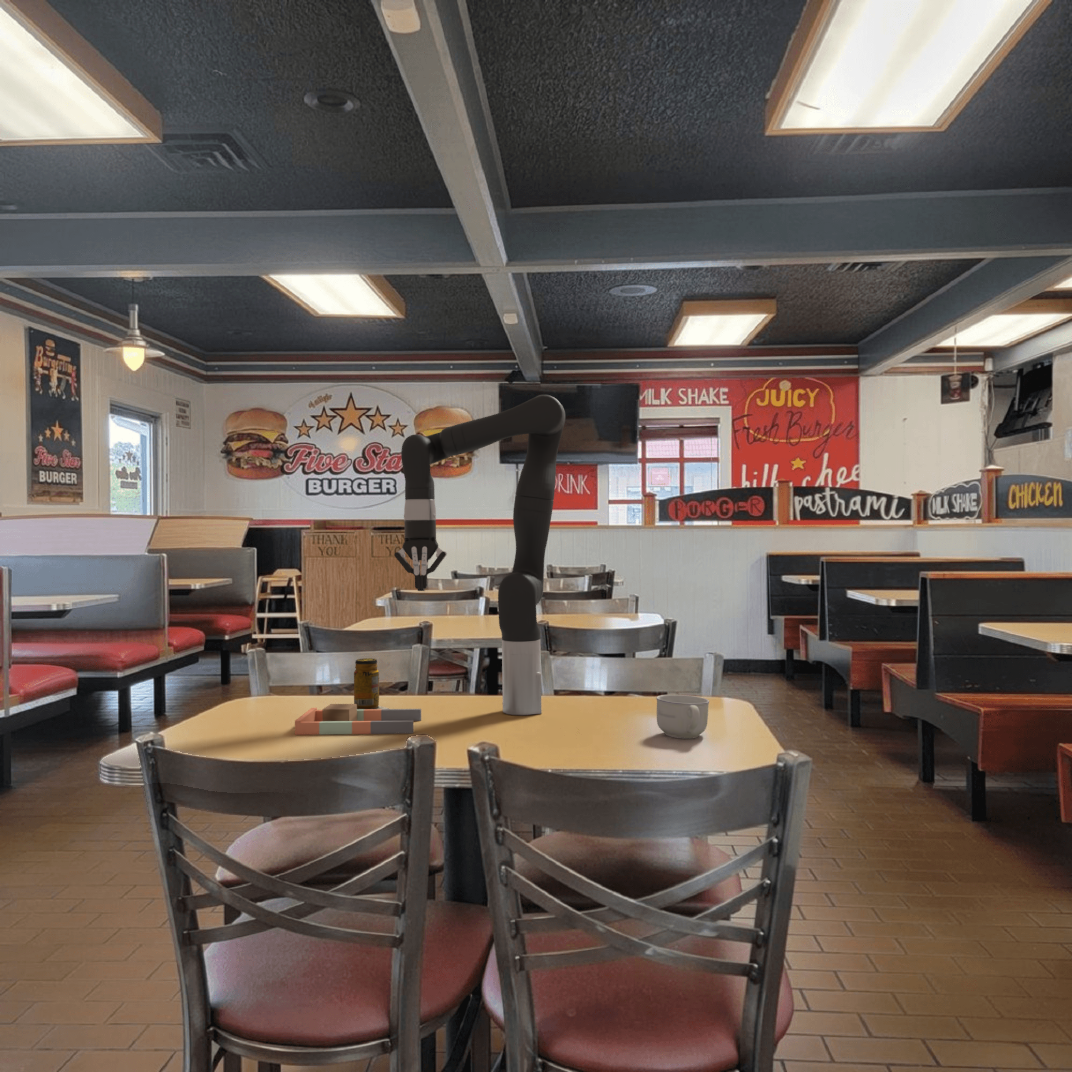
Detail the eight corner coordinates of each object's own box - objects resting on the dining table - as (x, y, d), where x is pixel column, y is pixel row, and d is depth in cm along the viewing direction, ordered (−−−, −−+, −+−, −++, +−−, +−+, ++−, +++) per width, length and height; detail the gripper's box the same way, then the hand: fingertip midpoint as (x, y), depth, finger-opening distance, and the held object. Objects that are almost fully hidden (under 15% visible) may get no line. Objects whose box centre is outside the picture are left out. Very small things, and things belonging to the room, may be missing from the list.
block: (357, 723, 193) (356, 703, 193) (349, 729, 187) (349, 709, 187) (331, 723, 194) (330, 703, 194) (322, 729, 188) (322, 709, 188)
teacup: (654, 729, 183) (653, 692, 183) (704, 729, 183) (704, 692, 183) (661, 746, 169) (661, 705, 169) (716, 746, 169) (716, 705, 169)
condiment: (372, 704, 215) (372, 656, 215) (389, 709, 208) (388, 660, 208) (346, 708, 210) (345, 659, 210) (362, 713, 204) (362, 663, 204)
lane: (421, 719, 196) (421, 706, 196) (412, 733, 183) (412, 719, 182) (311, 720, 196) (311, 707, 196) (295, 734, 183) (294, 720, 183)
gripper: (449, 518, 209) (450, 589, 209) (395, 519, 209) (396, 590, 209) (445, 518, 201) (446, 591, 201) (389, 518, 201) (390, 592, 201)
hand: (421, 590), depth 205 cm, fingers closed
